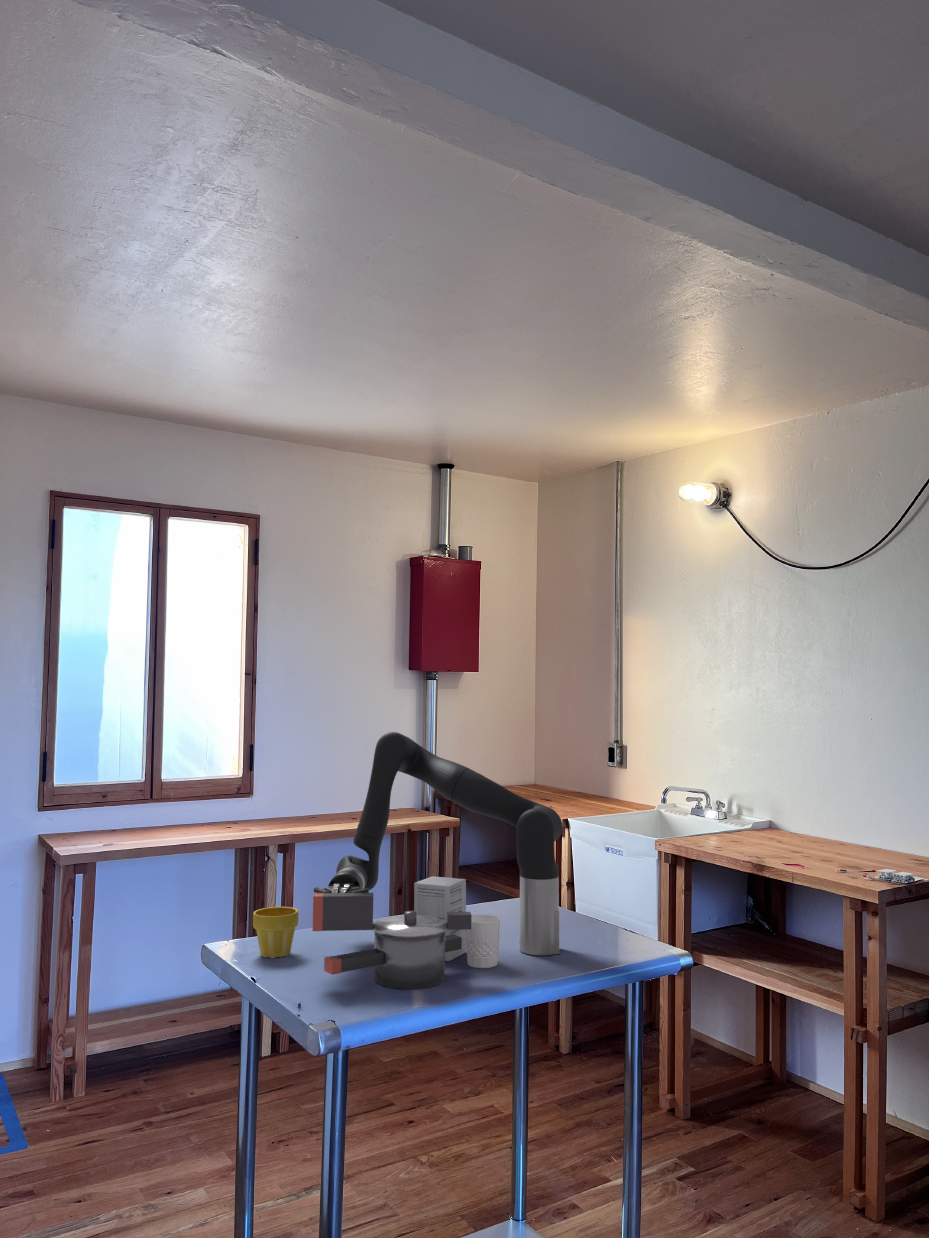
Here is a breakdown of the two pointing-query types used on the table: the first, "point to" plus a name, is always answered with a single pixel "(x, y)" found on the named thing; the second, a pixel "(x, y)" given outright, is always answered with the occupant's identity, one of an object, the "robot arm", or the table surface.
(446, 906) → the supplement box
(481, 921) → the white cup
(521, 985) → the table surface
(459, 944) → the pot
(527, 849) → the robot arm
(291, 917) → the plant pot
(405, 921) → the lid
